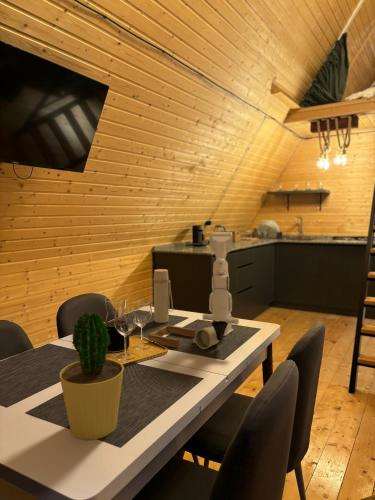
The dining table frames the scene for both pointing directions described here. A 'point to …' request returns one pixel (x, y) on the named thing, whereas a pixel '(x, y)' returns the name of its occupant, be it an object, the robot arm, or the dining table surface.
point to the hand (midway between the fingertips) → (220, 339)
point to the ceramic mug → (206, 337)
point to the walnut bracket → (171, 342)
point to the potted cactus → (91, 381)
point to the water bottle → (161, 296)
